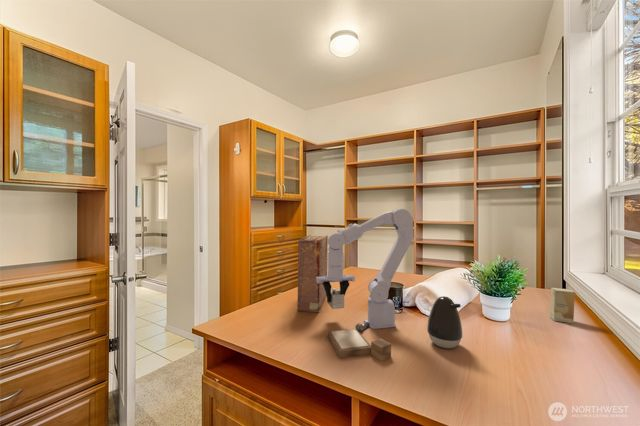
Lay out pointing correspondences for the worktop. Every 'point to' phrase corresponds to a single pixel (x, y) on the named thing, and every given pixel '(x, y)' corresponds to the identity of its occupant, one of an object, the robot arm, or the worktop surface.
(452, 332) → the pump dispenser
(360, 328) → the loose bolt
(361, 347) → the stand
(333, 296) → the housing
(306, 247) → the book
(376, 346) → the walnut block
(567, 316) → the skincare box
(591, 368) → the worktop surface
